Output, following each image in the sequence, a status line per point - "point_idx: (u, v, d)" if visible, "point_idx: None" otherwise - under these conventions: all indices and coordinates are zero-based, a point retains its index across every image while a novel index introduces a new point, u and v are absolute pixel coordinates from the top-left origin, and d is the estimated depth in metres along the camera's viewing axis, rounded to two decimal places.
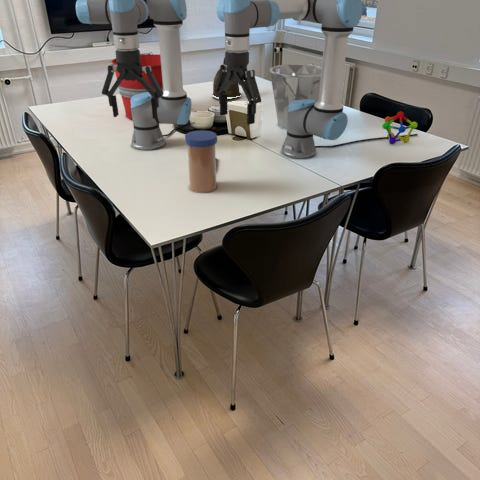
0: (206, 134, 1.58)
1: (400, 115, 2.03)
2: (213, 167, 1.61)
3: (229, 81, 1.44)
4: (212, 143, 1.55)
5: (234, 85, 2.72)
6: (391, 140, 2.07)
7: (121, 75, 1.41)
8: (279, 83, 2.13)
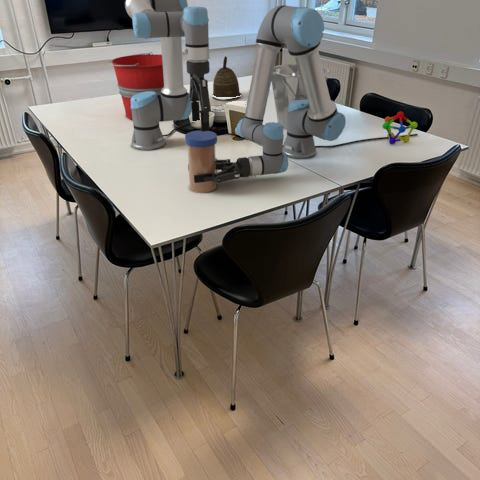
0: (206, 134, 1.58)
1: (400, 115, 2.03)
2: (213, 167, 1.61)
3: None
4: (212, 143, 1.55)
5: (234, 85, 2.72)
6: (391, 140, 2.07)
7: (192, 83, 1.50)
8: (279, 83, 2.13)
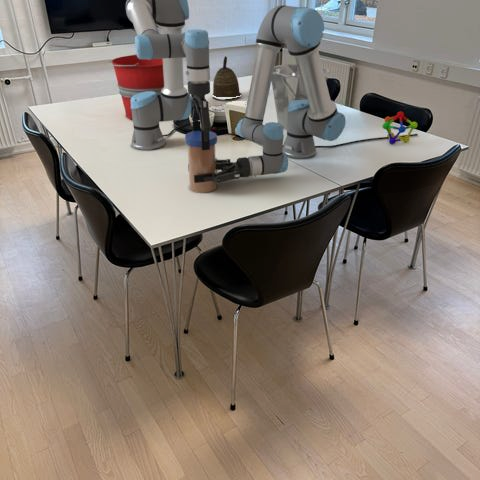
0: None
1: (400, 115, 2.03)
2: (213, 167, 1.61)
3: None
4: (212, 143, 1.55)
5: (234, 85, 2.72)
6: (391, 140, 2.07)
7: (193, 103, 1.53)
8: (279, 83, 2.13)
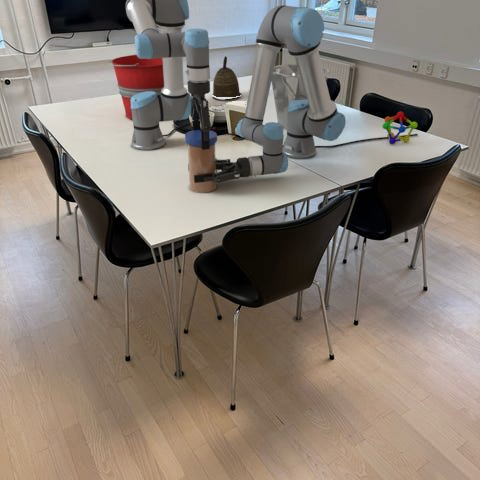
0: (197, 133, 1.59)
1: (400, 115, 2.03)
2: (213, 167, 1.61)
3: None
4: None
5: (234, 85, 2.72)
6: (391, 140, 2.07)
7: (193, 102, 1.53)
8: (279, 83, 2.13)
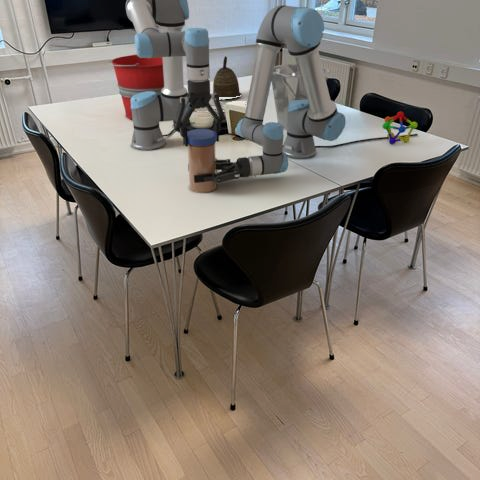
0: (196, 135, 1.56)
1: (400, 115, 2.03)
2: (213, 167, 1.61)
3: None
4: None
5: (234, 85, 2.72)
6: (391, 140, 2.07)
7: (195, 105, 1.49)
8: (279, 83, 2.13)
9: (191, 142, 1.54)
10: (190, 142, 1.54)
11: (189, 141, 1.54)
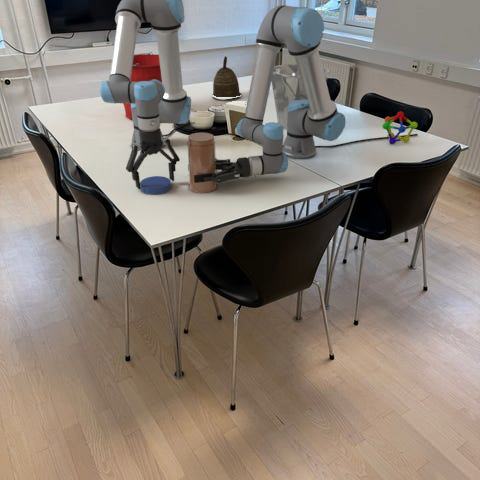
0: (151, 184, 1.64)
1: (400, 115, 2.03)
2: (213, 167, 1.61)
3: None
4: None
5: (234, 85, 2.72)
6: (391, 140, 2.07)
7: (147, 151, 1.57)
8: (279, 83, 2.13)
9: (146, 191, 1.62)
10: (145, 191, 1.63)
11: (144, 190, 1.63)
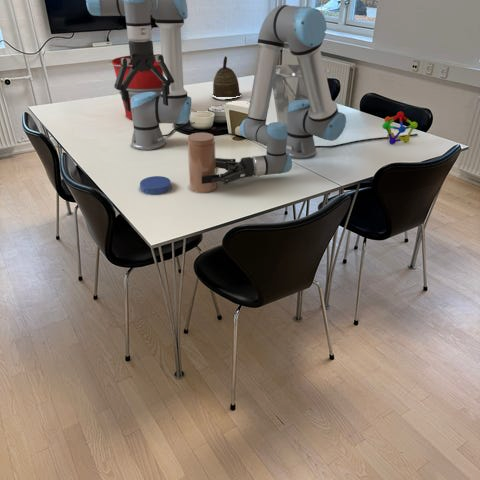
0: (151, 184, 1.64)
1: (400, 115, 2.03)
2: (213, 167, 1.61)
3: None
4: None
5: (234, 85, 2.72)
6: (391, 140, 2.07)
7: (138, 67, 1.42)
8: (279, 83, 2.13)
9: (146, 191, 1.62)
10: (145, 191, 1.63)
11: (144, 190, 1.63)
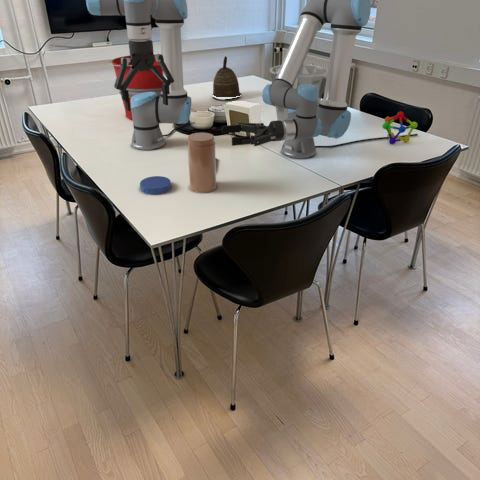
0: (151, 184, 1.64)
1: (400, 115, 2.03)
2: (213, 167, 1.61)
3: None
4: None
5: (234, 85, 2.72)
6: (391, 140, 2.07)
7: (138, 66, 1.42)
8: None
9: (146, 191, 1.62)
10: (145, 191, 1.63)
11: (144, 190, 1.63)
